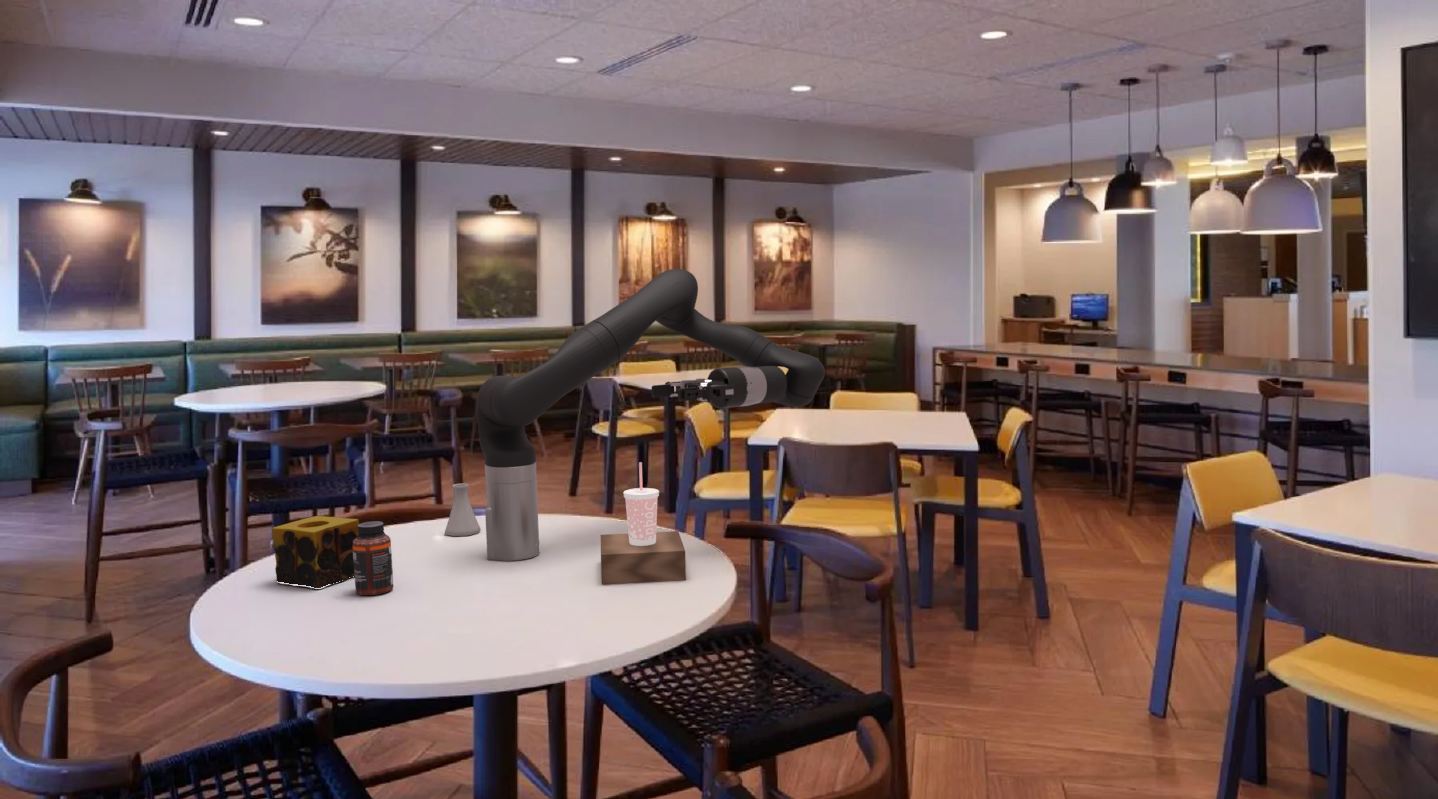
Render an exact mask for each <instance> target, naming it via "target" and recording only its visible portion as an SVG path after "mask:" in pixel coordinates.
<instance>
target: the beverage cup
mask: <svg viewBox="0 0 1438 799" xmlns="http://www.w3.org/2000/svg"><path fill="white" fill-rule="evenodd" d="M638 469H639V471H638V472H639V487H637V488H636V487H635V488H629V489H626V490H624V491H623V498H624V499H625V508H626V509H625V510H626V521H627V533H628V534H629V543H630V544H631V545H635V546H647V545H652V544H655V543H656V532H657V527H658V526H657V524H658V522H657V521H658V519H657V518H658V499H659V498H658V497H659V496H660V495H659V494H660V490H659V489H656V488H653V487H652V488H650V487H643V462H641V461H640V462H638Z"/></svg>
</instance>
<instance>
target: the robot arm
mask: <svg viewBox="0 0 1438 799" xmlns="http://www.w3.org/2000/svg"><path fill="white" fill-rule="evenodd" d="M698 286H699V284H698V281H697V278H696V276H695V275H694V274H693V273H692V272H690V271H689V270H687V269H681V268H671V269H668V270H665V271H663V272H661V273H659V274H657V276H655V277H654V278H652V279H651V280H650V281H648V282H647V283H646V284H645V285H644V286H642V287H641V288H640V289H639V290H637V291H636V292H635V293H634V294H632V295H631V296H630V297H629V298H627V299H625V300H623V301H622V302H621V303H618V304H617V305H616V306H614V307H612V308H611V309H610V310H608V311H607V312H604V313H603V314H602V315H600V316H598V317H596V318H595V319H593V320H591V321H589V322H588V323H587V324H585V325H583V326H582V327H580V328H579V329H577V330H576V331H574V332H573V333H572V334H570V335H569V336H568V337H567V338H566V339H565V340H564V342H562V343H561V345H560V346H559V348H558V350H557V351H556V352H555V353H554V354H553V355H552V357H550V358H549V359H548V360H547V361H545V362H543V363H542V364H541V365H538V366H537V367H535V368H534V369H531V370H530V371H526V373H524V374H521V375H519V376H518V375H517V376H511V375H496V376H492V377H490V378H488V379H486V380H485V381H484V382H483V383H482V385H481V386H480V387H479V390H478V393H477V397H476V398H477V399H476V414H477V415H476V417H477V428H478V437H479V438H478V440H479V445H480V449H481V452H482V453H483V458H484V473H485V493H486V494H485V495H486V497H485V498H486V499H485V500H486V507H485V509H484V513H485V536H486V538H485V539H486V554H487V555H486V557H487V558H486V559H487V560H496V561H505V562H506V561H521V560H527V559H530V558H534V557H536V556H539V555H540V532H539V508H538V506H539V505H538V504H539V503H538V479H537V478H538V477H537V474H538V473H537V456H536V454H537V453H536V448H535V447H534V445H533V444H532V443H531V441H530V440H529V439H528V437H527V434H526V428H525V426H528V425H530V424H532V423H533V422H534V421H536V420H537V419H538V418H539V417H541V416H542V415H543V414H544V413H545V412H546V411H547V410H548V409H550V408H551V407H552V406H554V405H555V404H556V403H557V402H558V401H559V400H561V399H562V398H563V397H565V396H566V395H567V394H569V393H570V392H572V391H574V390H575V389H577V388H579V387H580V386H581V385H583V384H584V383H586V382H588V381H590V380H591V379H592V378H594V377H595V376H597V375H598V374H600V373H602V372H604V371H605V370H607V369H608V368H610V367H611V366H613V365H614V364H616V363H617V362H618V361H620V360H621V359H623V358H624V357H625V356H626V355H627V354H628V353H629V352H630V351H631V349H632V348H633V347H634V346H635V345H636V344H637V342H638V341H639V340H640V339H641V338H642V336H643V335H644V334H645V332H647V330H648V329H649V328H650V327H651V326H652V325H653V324H654V323H655V322H656V323H658V324H660V325H661V326H663V327H664V328H667V329H669V330H671V331H673V332H676V333H679V334H680V335H682V336H686V337H687V338H689V339H692V340H694V341H696V342H699V343H702V344H703V345H706V346H709V347H711V348H713V349H715V350H717V351H719V352H721V353H723V354H725V355H727V356H728V357H730V358H732V359H734V360H735V361H737V362H738V363H740V364H741V365H743V366H733V367H719V368H718V367H717V368H714V369H713V370H711V372H710V373H709V375H708V376H707V379H706V378H701V377H700V378H696V379H682V380H679V381H666V382H665V383H664V384H653V385H652V386H651V388H650V389H651V397H652V398H666V397H667V398H668V397H670V398H674V397H677V400H678V401H679V402H680V401H681V402H687V401H699V402H710V403H711V405H712V406H713V407H715V408H717V409H728V408H729V409H730V408H731V409H732V408H737V407H738V408H739V407H748V406H752V405H756V404H764V403H765V404H766V403H772V402H773V403H775V404H776V403H777V404H781V405H785V406H789V407H793V408H802V407H805V406H807V405H809V404H811V402H812V401H813V399H814V397H815V395H816V393H817V391H818V390H819V387H820V386H821V384H822V382H823V380H824V378H825V375H826V370H825V366H824V365H823V363H822V362H821V361H820V360H819V359H818V358H817V357H815V356H813V355H811V354H807V353H804V352H800V351H797V350H793V349H791V348H788V347H784V346H782V345H779V344H778V343H776V342H774V341H773V340H771V339H770V338H767V337H766V336H764V335H762V334H760V333H759V332H758V331H755V330H754V329H751V328H749V327H746V326H743V325H737V324H736V325H735V324H729V323H728V324H727V323H722V322H718V321H715V320H712V319H710V318H708V317H707V316H704V315H703V313H700V312H699V311H698V310H697V309H695V307H696V303H697V300H698V293H699V287H698ZM782 368H786V369H787V371H786V372H784V370H783V369H782Z"/></svg>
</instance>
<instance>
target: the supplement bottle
mask: <svg viewBox="0 0 1438 799" xmlns="http://www.w3.org/2000/svg"><path fill="white" fill-rule="evenodd" d="M384 526H385V524H384V522H382V521H379V520H378V521H376V520H375V521H365V522H361V523H359V525H358V533H359V534H358V536H357V537H356V538H355V539H354V540H353V559H354V574H355V577H354V586H355V592H356V593H357V594H359V595H361V596H378V595H379V596H380V595H383V594H386V593H388V592H390V591H391V590H392V589H394V570H393V556H392V555H393V553H392V539H391V537H390V536H389V535H388V534H386V533H385V528H384Z"/></svg>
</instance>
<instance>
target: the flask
mask: <svg viewBox="0 0 1438 799" xmlns="http://www.w3.org/2000/svg"><path fill="white" fill-rule="evenodd" d="M451 488H452V489H453V502H452V507H451V510H450V514H449V518H448V521H447V524H446V526H445V527H446V528H445V531H444V533H443V535H446V536H453V537H460V536H461V537H463V536H472V535H475V534H478V533H480V531H481V527H480V524H479V522H478V519H477V517H476V514H475V513H474V509H473V508H472V506H471V503H470V499H469V493H468V488H469V483H464V482H463V483H455V484H452V487H451Z"/></svg>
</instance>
